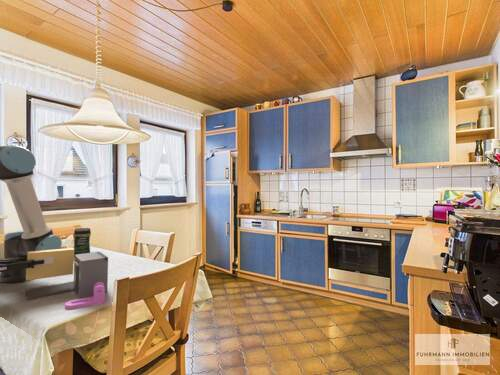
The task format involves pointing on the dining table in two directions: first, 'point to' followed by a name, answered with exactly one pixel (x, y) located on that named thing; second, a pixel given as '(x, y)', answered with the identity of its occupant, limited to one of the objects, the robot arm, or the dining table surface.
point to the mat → (49, 290)
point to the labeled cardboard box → (58, 268)
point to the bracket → (89, 298)
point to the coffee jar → (82, 240)
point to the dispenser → (90, 272)
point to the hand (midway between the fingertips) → (52, 259)
